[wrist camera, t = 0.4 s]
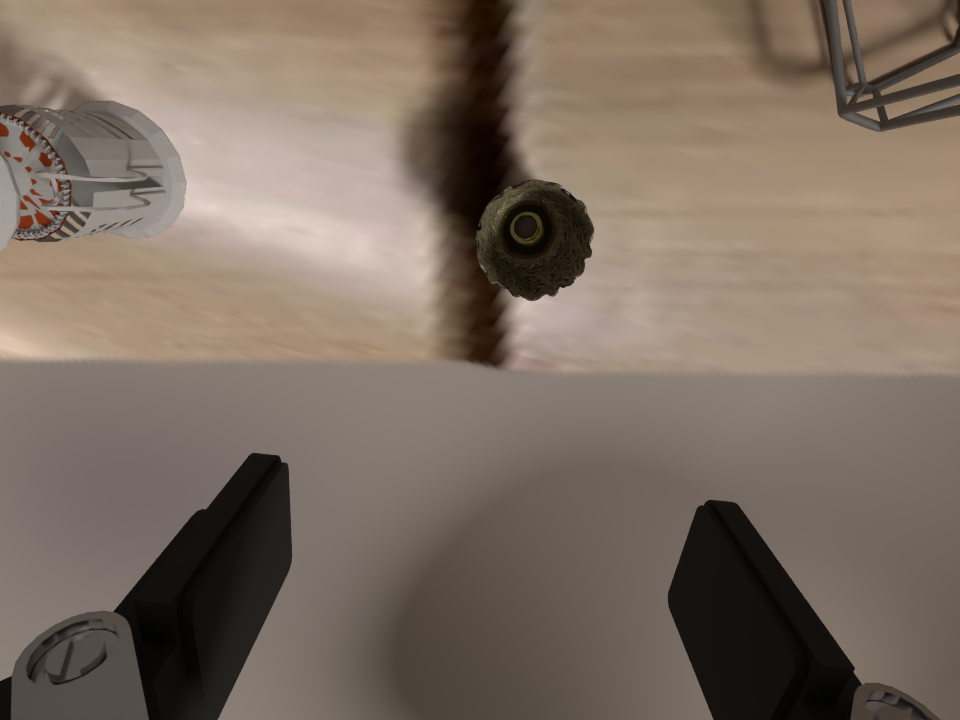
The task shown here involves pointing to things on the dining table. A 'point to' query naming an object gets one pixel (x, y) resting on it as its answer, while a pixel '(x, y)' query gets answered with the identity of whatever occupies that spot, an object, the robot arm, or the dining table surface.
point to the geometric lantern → (884, 82)
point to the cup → (534, 239)
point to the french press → (86, 173)
